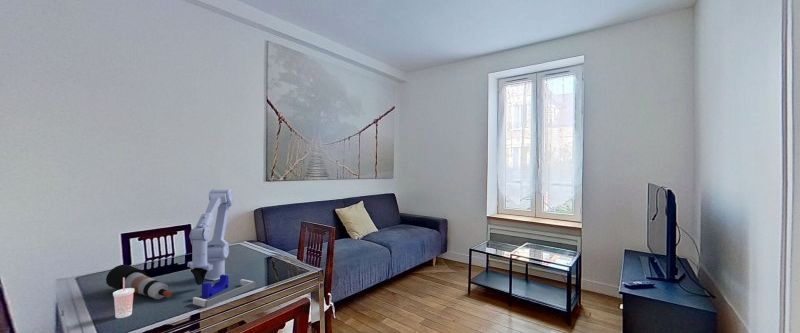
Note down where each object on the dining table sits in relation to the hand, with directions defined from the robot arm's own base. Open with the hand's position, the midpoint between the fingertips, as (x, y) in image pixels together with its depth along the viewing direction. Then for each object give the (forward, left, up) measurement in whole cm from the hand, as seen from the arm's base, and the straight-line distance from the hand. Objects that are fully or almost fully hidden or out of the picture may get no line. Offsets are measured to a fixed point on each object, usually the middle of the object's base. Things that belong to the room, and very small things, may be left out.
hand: (199, 284), depth 142 cm
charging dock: (+17, 0, -2) cm, 17 cm away
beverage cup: (-1, -28, -2) cm, 28 cm away
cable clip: (+9, 0, -3) cm, 10 cm away
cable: (-17, -14, -3) cm, 22 cm away
